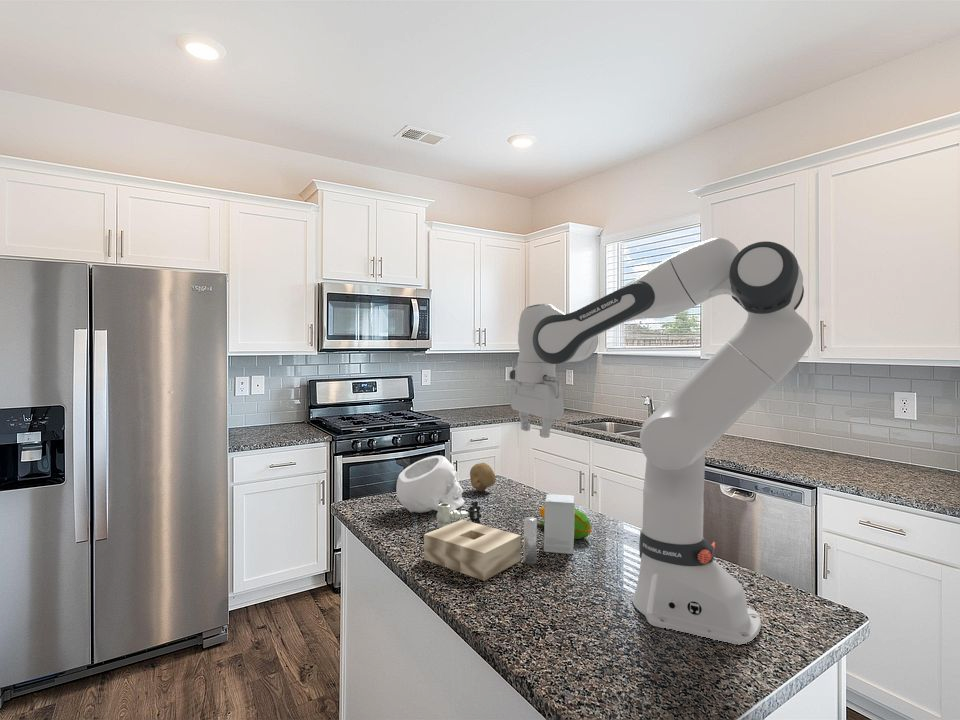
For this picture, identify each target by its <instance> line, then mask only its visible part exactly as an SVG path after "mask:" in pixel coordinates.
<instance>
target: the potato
mask: <svg viewBox="0 0 960 720" xmlns="http://www.w3.org/2000/svg"><path fill="white" fill-rule="evenodd" d="M470 468H471V469H470V472H469V478H470V485H471V487H472V488H473V489H474V490H475V489H476V491H478V492H484V491H485V490H487V488H490V487H492V486H493V485H494V484H495V483H496V478H497V477H496V474H495V472H494V470H493V469H492V467H491V466H490V465H489V464H488V463H485V462H479V463H475V464H474V465H473V466H472V467H470Z"/></svg>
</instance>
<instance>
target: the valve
mask: <svg viewBox="0 0 960 720" xmlns="http://www.w3.org/2000/svg"><path fill="white" fill-rule="evenodd" d="M478 504H479V502H478V501H477V500H476V501H473V502H470V507H469V508H468V510H467V511H466V510H461V511H458V510H457V509H456V510H452V511H451V512H450V510H451V505H450V504H448V503H440V504H438V511H437V513H436V516H435V517H436V521H437V528H442V527H444V526H447V525H449V524H451V521H453V522H457V521H459V520H458V519H464V518H467V517H468V518H469V520H470V522H473V523H477V524H481V518H482V514H481V513H480V510H481V506H480V505H478Z"/></svg>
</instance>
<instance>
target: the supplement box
mask: <svg viewBox="0 0 960 720" xmlns="http://www.w3.org/2000/svg"><path fill="white" fill-rule="evenodd" d="M575 499H576V498H575V495H570V494H555V493H554V494H553V493H551V494H550V493H547V494H546V495H545V500H544V506H545V520H544V521H543V522H544V525H543V526H544V531H543V533H544V534H543V535H544V536H543V552H545V553H555V554H567V555H573V554H574V544H575V543H574V541H575V539H574V516H575V509H576V507H575V506H576V504H575V503H576V502H575V501H576V500H575Z"/></svg>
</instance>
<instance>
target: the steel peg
mask: <svg viewBox="0 0 960 720" xmlns="http://www.w3.org/2000/svg"><path fill="white" fill-rule="evenodd" d="M537 535H538V519H537V518H535V517H532V516H530V517H529V516H527V517H524V519H523V563H524V564H526V565H534V564H537V555H538V554H537V550H538V549H537V543H538V541H537V540H538V539H537V538H538V536H537Z"/></svg>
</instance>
